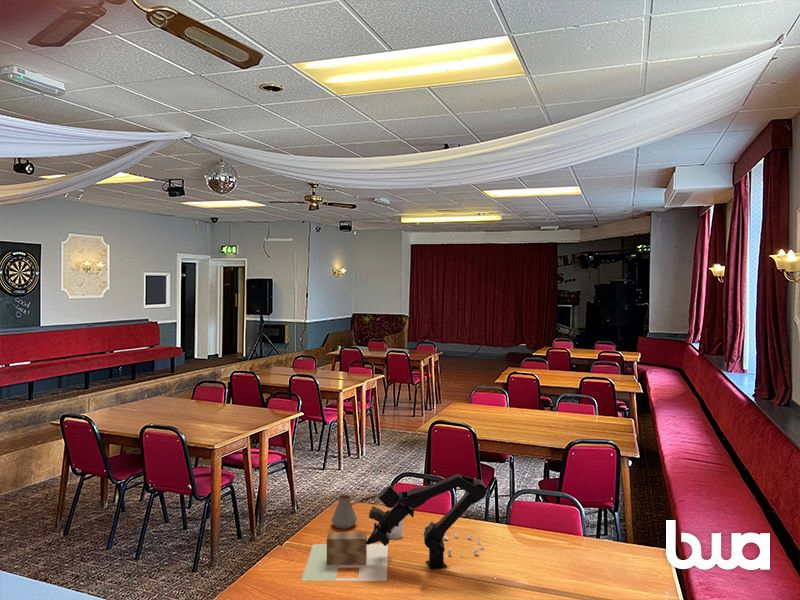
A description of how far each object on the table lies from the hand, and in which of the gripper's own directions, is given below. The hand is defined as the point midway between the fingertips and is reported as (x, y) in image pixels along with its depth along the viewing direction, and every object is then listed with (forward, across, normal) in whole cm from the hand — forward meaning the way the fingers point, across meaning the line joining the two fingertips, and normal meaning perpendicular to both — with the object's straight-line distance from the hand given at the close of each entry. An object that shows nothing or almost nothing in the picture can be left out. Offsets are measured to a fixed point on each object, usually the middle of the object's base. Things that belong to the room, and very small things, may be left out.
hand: (366, 543), depth 226 cm
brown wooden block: (+10, 0, 0) cm, 10 cm away
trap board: (+11, 0, +1) cm, 11 cm away
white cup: (-2, -26, +14) cm, 30 cm away
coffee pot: (+11, -37, +1) cm, 38 cm away
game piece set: (-21, -16, +33) cm, 42 cm away
